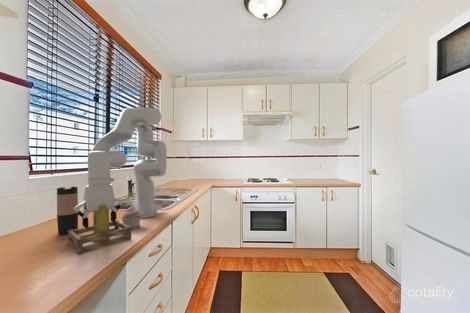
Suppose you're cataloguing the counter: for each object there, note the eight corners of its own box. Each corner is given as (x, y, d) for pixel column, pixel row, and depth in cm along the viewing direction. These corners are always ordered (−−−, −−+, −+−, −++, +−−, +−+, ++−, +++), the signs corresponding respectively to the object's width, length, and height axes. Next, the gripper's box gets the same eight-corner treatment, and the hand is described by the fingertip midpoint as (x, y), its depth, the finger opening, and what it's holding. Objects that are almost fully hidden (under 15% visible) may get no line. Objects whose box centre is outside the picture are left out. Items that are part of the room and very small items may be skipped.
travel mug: (67, 235, 96) (66, 189, 96) (52, 234, 98) (51, 188, 97) (82, 229, 104) (82, 186, 103) (69, 228, 105) (68, 186, 105)
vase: (91, 243, 86) (90, 206, 86) (94, 237, 92) (93, 202, 91) (109, 240, 89) (108, 204, 88) (110, 235, 94) (110, 201, 94)
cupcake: (144, 228, 105) (143, 207, 105) (121, 231, 101) (121, 209, 100) (141, 223, 113) (140, 203, 113) (120, 226, 109) (120, 205, 108)
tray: (117, 231, 101) (117, 219, 101) (131, 239, 92) (131, 226, 92) (68, 243, 88) (67, 230, 88) (78, 254, 78) (77, 239, 78)
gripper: (118, 179, 98) (119, 218, 99) (70, 183, 85) (71, 227, 86) (125, 180, 93) (126, 221, 94) (76, 185, 80) (76, 232, 81)
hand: (100, 224), depth 90 cm, fingers open, 9 cm apart
